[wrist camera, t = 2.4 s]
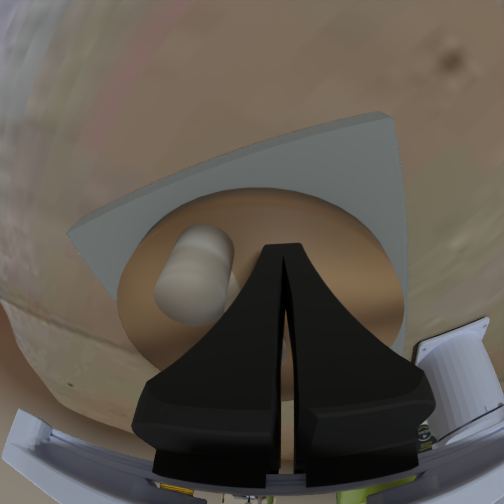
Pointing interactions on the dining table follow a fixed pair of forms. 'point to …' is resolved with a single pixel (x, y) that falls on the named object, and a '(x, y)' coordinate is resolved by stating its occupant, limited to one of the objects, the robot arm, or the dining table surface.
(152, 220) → the base plate
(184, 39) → the dining table surface
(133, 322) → the handwheel
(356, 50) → the dining table surface
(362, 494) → the tea box
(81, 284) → the dining table surface
